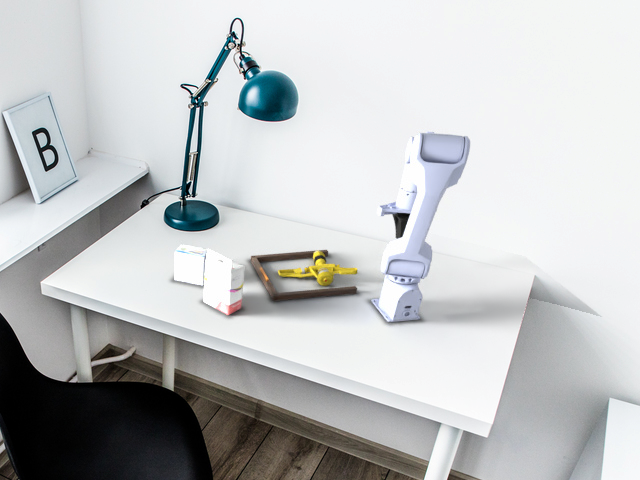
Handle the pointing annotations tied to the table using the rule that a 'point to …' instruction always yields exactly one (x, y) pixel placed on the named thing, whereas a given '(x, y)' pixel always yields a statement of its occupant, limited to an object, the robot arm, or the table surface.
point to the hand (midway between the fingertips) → (399, 239)
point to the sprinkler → (319, 270)
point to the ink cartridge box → (223, 283)
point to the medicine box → (190, 264)
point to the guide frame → (295, 294)
